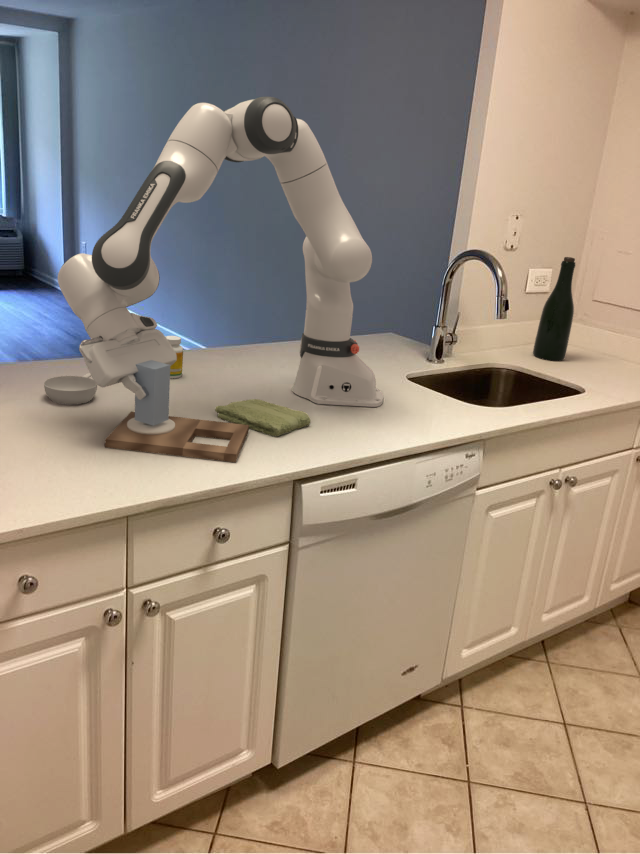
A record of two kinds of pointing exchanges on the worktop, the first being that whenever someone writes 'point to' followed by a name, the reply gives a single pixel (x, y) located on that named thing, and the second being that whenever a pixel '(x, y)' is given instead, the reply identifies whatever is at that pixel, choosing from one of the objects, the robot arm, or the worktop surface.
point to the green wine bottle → (557, 317)
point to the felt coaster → (151, 427)
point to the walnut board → (183, 439)
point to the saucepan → (70, 389)
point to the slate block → (153, 392)
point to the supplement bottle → (177, 366)
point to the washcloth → (263, 416)
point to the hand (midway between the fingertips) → (155, 393)
